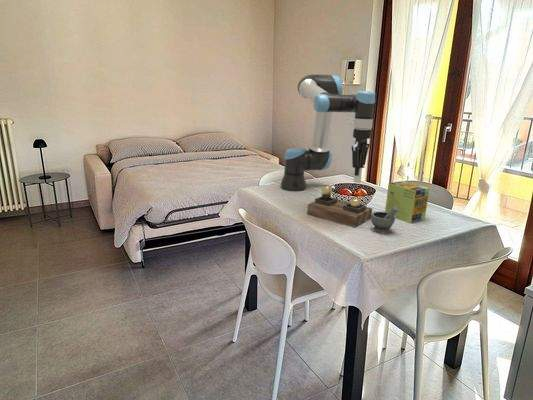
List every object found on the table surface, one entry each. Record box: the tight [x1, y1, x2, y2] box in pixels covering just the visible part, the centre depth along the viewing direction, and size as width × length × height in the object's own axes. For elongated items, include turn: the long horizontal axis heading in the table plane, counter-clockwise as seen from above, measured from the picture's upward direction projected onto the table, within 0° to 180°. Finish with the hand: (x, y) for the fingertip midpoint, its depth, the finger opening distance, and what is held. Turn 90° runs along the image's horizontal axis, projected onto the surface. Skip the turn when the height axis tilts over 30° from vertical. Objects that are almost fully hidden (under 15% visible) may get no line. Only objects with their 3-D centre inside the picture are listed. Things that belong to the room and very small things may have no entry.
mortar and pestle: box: [370, 206, 399, 234], centre depth 160 cm, size 11×9×12 cm
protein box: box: [384, 180, 431, 224], centre depth 178 cm, size 10×15×16 cm
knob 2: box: [349, 197, 361, 209], centre depth 171 cm, size 4×4×5 cm
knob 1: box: [321, 184, 333, 198], centre depth 179 cm, size 4×4×5 cm
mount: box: [306, 195, 373, 228], centre depth 177 cm, size 16×25×7 cm, turn 50°
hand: (357, 182), depth 168 cm, fingers closed
